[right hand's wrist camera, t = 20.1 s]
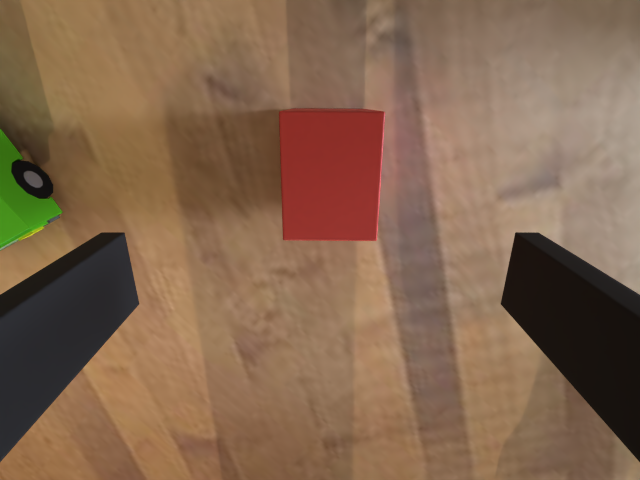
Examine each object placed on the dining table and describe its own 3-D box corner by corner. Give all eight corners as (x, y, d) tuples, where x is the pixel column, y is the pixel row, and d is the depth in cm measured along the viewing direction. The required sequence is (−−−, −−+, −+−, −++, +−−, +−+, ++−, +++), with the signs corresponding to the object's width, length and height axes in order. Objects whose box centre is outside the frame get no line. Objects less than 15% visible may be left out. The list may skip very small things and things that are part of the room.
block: (364, 108, 26) (385, 111, 18) (360, 199, 29) (377, 241, 20) (292, 108, 26) (278, 111, 18) (294, 199, 29) (282, 240, 20)
